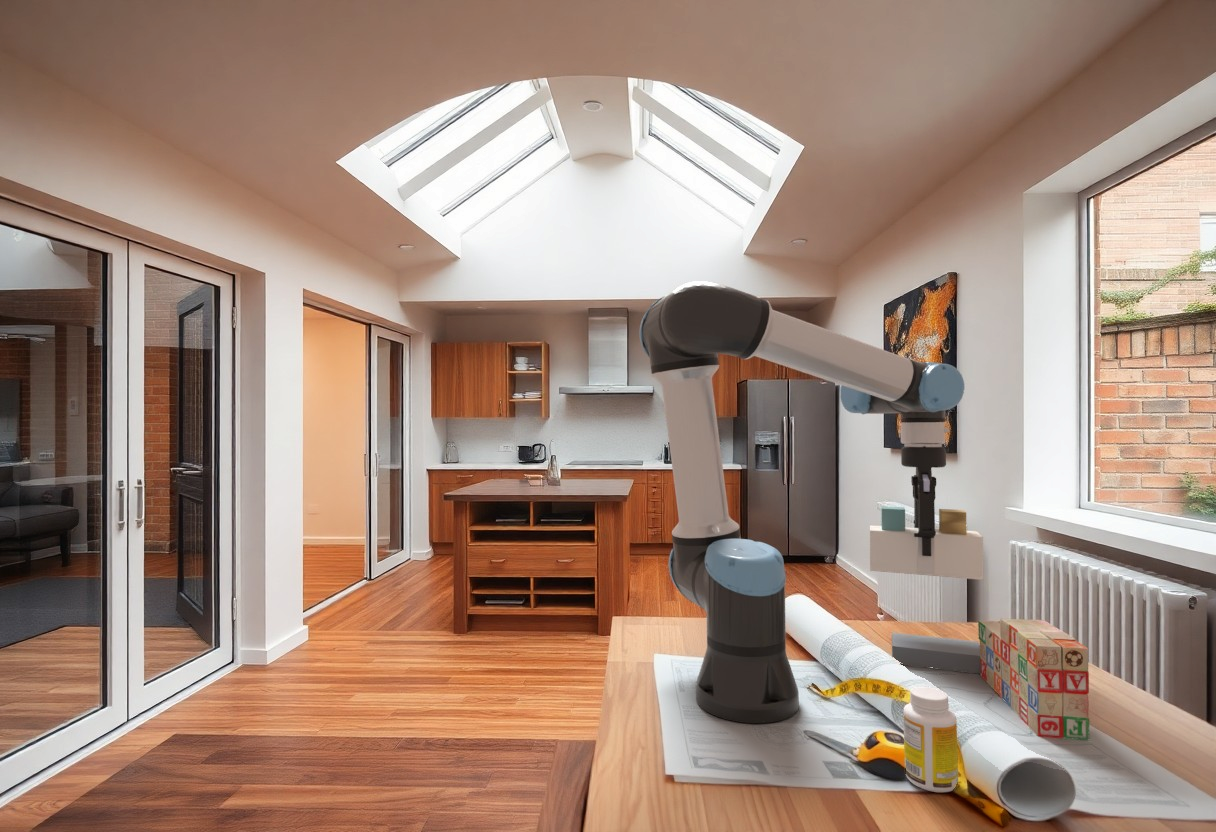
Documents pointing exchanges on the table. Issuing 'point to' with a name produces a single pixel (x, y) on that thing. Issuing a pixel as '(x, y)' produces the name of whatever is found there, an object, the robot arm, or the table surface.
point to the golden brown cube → (952, 521)
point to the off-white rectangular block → (951, 553)
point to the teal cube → (893, 518)
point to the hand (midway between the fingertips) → (924, 569)
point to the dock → (936, 652)
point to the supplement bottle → (930, 740)
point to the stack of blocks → (1038, 675)
